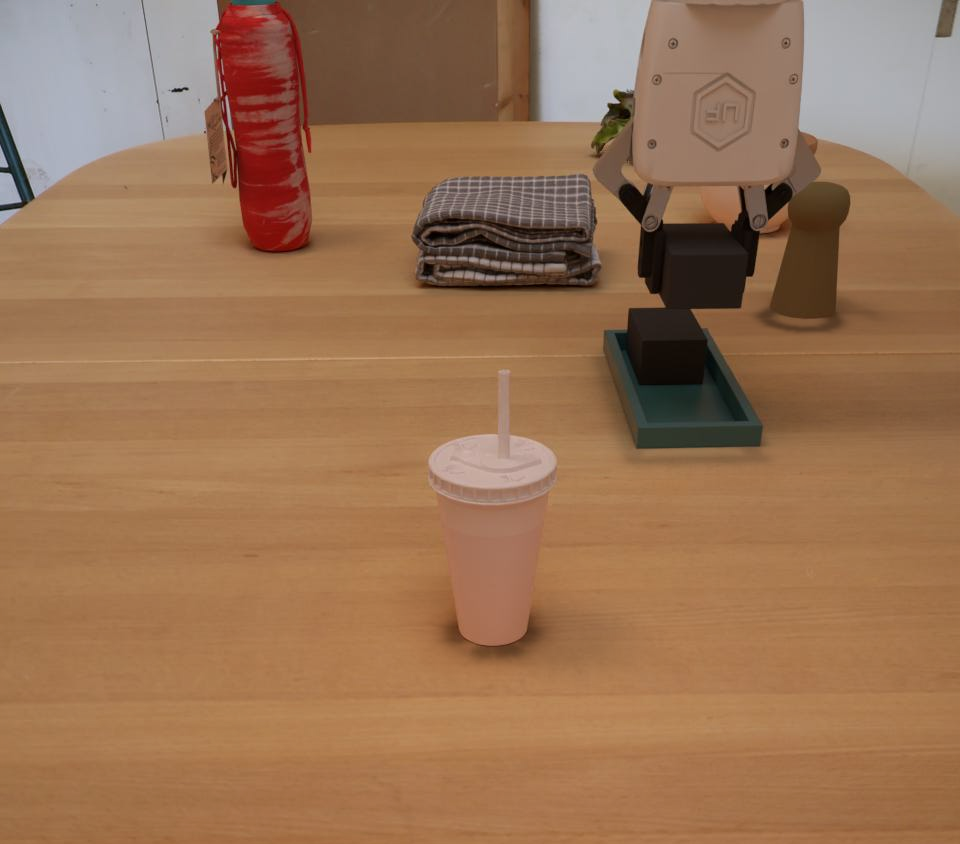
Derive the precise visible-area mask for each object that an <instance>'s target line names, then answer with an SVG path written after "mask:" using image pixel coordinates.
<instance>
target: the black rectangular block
mask: <svg viewBox="0 0 960 844" xmlns="http://www.w3.org/2000/svg"><path fill="white" fill-rule="evenodd" d="M663 229H664V230H665V232H666V234H667V239H666V245H665V253H664V264H663V275H662V286H661V292H659V293H658V295H659V297H660V299H661V301H662V303H663V305H664V307H666V309H691V310H722V309H723V310H729V309H730V310H732V309H733V310H734V309H737V310H738V309H739V310H740V309H741V308H742V306H743V305H742V303H743V298H744V293H743V291H744V292H745V290H744V283H745V276H746V269H747V261H748V253H747V252H746V250H745V249H744V248H743V247H742V245H741V244H740V243H739V242H738V241H737V239H736V238H735V237H734V236H733V234H732V233H731V232H730V230H729V229H728V228H727V227H726V225H725V224H724V223H716V222H698V223H697V222H694V223H693V222H692V223H691V222H689V223H687V222H685V223H684V222H683V223H677V222H676V223H675V222H674V223H663Z"/></svg>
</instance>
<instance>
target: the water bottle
mask: <svg viewBox="0 0 960 844" xmlns="http://www.w3.org/2000/svg"><path fill="white" fill-rule="evenodd" d="M230 1H231V2H230V3H228V4H227V5H226V9H224V10H223V11H222V13H221V15H220V20H219V22H218V24H217V25H216V27H215V28H213V29H211V30H210V32H209V33H210V34H212V36H211V37H212V52H213V53H212V54H213V63H214V65H213V66H214V75H215V84H216V85H215V86H216V93H217V96H216V97H215V98H213V101H212V102H211V103H209V105H208V106H207V108H206V109H205V110H204V113H203V114H204V121H205V130H206V131H205V132H206V140H207V146H208V147H207V148H208V157H209V166H210V177H211V184H212V185H213V184H214V183H216V181H217V180H218V179H220V177H221V178H222V179H221V180H222V185H224V183H225V180H226V176H227V172H228V166H229V177H230V184H231V187H232V189H235V190H236V189H237V187H238V197H239V200H238V201H239V206H240V213H241V219H242V226H243V227H244V230H245V233H246V234H247V236H248V239H249V241H250V243H251V244H252V245H253V246H254V248H255V247H256V248H257V249H259V250H261V251H263V252H264V251H265V252H272V253H276V252H289V251H294V250H298V249H300V248H302V247H304V246H305V245H307V243H308V241H309V238H310V237H309V236H310V232H311V227H312V225H313V212H312V198H311V189H310V183H309V176H308V171H307V170H308V169H307V163H306V159H305V157H306V156H305V151H304V145H303V135H302V130H303V131H304V133H305V134H304V135H305V141H306V147H307V152H308V154H311V153H312V135H311V128H310V127H309V123H308V120H309V119H308V118H309V109H308V107H309V106H308V95H307V83H306V82H307V80H306V74H305V67H304V60H303V52H302V44H301V39H300V36H299V33H298V29H297V26H296V23H295V21H294V18H293V17H292V16H291V14H290V13H289V12H288V11H287V10H286V9H284V8H283V7H282V5H281V3H280V2H279V1H276V0H230ZM300 88H301V89H300ZM300 90H301V93H300ZM300 94H301V95H300ZM300 96H301V97H302V107H303V123H302V124H301V103H300V102H301V101H300V100H301V99H300V98H301V97H300ZM226 97H227V99H226ZM227 102H228V106H229V112H230V116H231V120H232V127H233V135H234V138H233V135H232V132H231V129H230V126H229V118H228V117H229V116H228V108H227ZM224 127H225V132H224ZM225 135H226V142H225ZM226 144H227V150H226ZM232 153H233V154H232ZM227 155H228V159H227ZM232 156H233V157H232ZM228 164H229V165H228Z"/></svg>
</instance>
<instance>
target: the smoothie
mask: <svg viewBox="0 0 960 844" xmlns="http://www.w3.org/2000/svg"><path fill="white" fill-rule="evenodd" d="M510 421H511V371H510V370H508V369H500V370H498V371H497V433H484V434H474V435H468V436H461V437H459V438H456V439H453V440H449V441H447V442H445V443H443V444H441V445H440V446H438V447H437V448H436V449H434V450H433V451H432V453H431V454H430V455H429V457H428V462H427V463H428V473H427V482H428V484H429V487H430V488H431V489H432V490H433V491H434V492H435V493H436V499H437V506H438V512H439V517H440V523H441V529H442V535H443V543H444V548H445V554H446V559H447V565H448V572H449V577H450V583H451V589H452V595H453V602H454V607H455V614H456V619H457V626H458V632H459V633H460V635H461V636H462V637H463V638H464V639H466V640H467V641H469V642H471V643H473V644H477V645H481V646H486V647H487V646H489V647H497V646H505V645H509V644H513V643H515V642H517V641H519V640H520V639H522V638H523V637H524V636H525V635H526V633H527V630H528V625H529V620H530V613H531V607H532V601H533V595H534V589H535V582H536V576H537V570H538V565H539V558H540V557H539V556H540V551H541V545H542V538H543V532H544V526H545V521H546V515H547V510H548V502H549V495H550V491H552V490H553V489H554V488H555V485H556V484H557V482H558V472H557V471H558V470H557V467H558V459H557V456H556V454H555V452H553V451H552V450H551V448H549V447H548V446H546V445H545V444H543V443H541V442H539V441H536V440H535V439H531V438H528V437H524V436H520V435H513V434H511V433H510V428H511V427H510V426H511V422H510Z"/></svg>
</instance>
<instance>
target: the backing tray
mask: <svg viewBox="0 0 960 844" xmlns="http://www.w3.org/2000/svg"><path fill="white" fill-rule="evenodd" d="M701 328H702V330H703V332H704V334H705V336H706V337H707V339H708V343H707V352H706V361H705V369H704V378H703V384H674V385H639V383H638V381H637V378H636V375H635V373H634V370H633V368H632V365H631V362H630V360H629V357H628V354H627V352H626V339H627V329H604V330H603V339H602V340H603V341H602V349H603V352H604V356H605V358H606V361H607V365H608V368H609V371H610V374H611V376H612V379H613V383H614V386H615V389H616V391H617V394H618V397H619V400H620V403H621V406H622V410H623V412H624V415H625V419H626V422H627V424H628V428H629V430H630V434H631V436H632V439H633V442H634V446H635V448H636V449H637V450H647V449H648V450H649V449H651V450H652V449H699V448H700V449H703V448H707V449H708V448H752V447H753V448H754V447H761V442H762V436H763V430H764V425H763V422H762V421H761V420H760V418H759V416H758V415H757V412H756V411H755V409H754V407H753V406H752V404H751V402H750V401H749V398H748V397H747V395H746V393H745V392H744V390H743V388H742V386H741V385H740V384H739V382H738V380H737V378H736V377H735V374H734V373H733V371H732V369H731V367H730V366H729V364H728V362H727V361H726V359H725V358H724V356H723V354H722V352H721V350H720V348H719V347H718V345H717V343H716V342H715V340H714V338H713V337H712V334H711V333H710V331H709V329H708V328H707V327H701Z"/></svg>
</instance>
